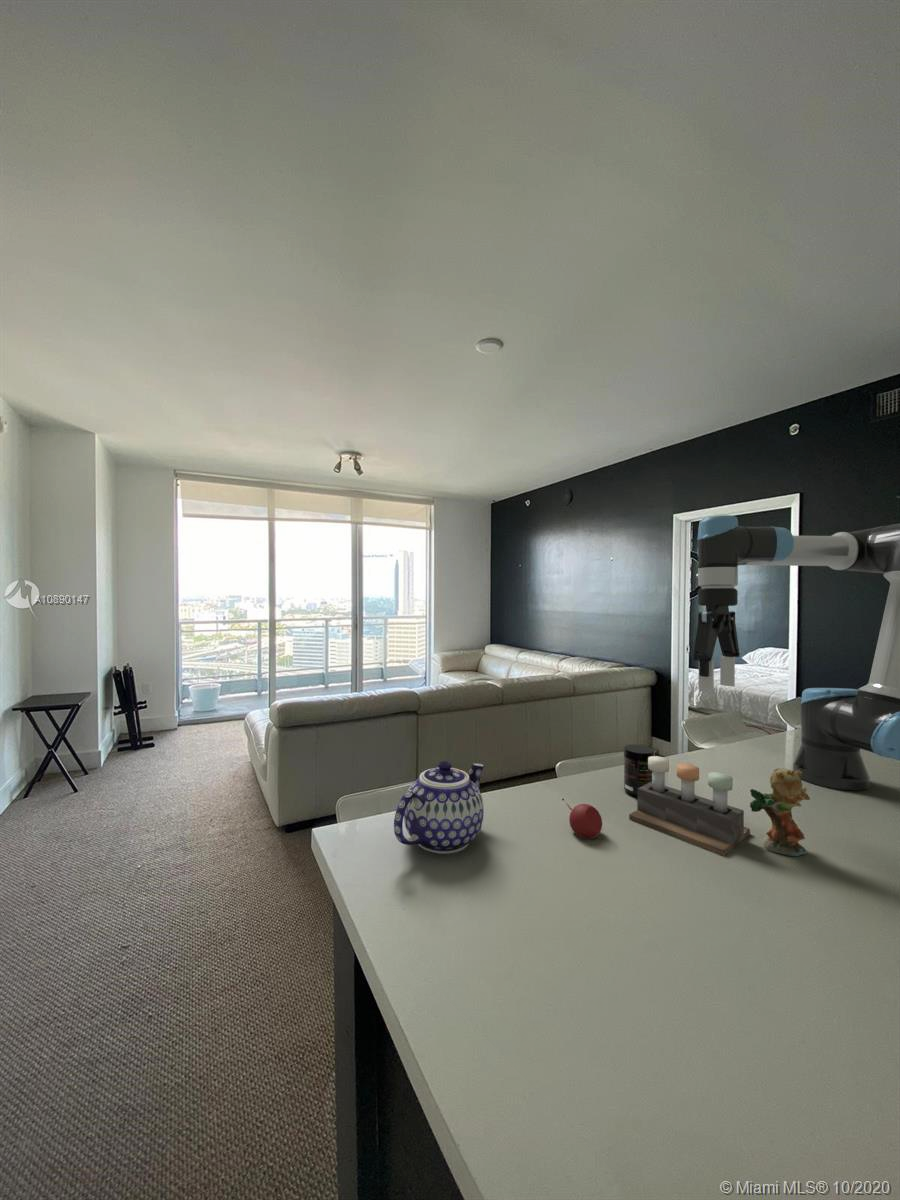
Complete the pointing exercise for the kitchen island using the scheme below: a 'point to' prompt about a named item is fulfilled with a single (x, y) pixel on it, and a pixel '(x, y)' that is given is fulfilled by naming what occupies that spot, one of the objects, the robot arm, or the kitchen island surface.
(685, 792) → the orange capped peg
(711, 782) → the sage button
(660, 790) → the cream button
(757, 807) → the figurine
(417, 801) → the teapot
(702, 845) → the button board
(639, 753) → the supplement container
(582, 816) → the fruit
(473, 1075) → the kitchen island surface
